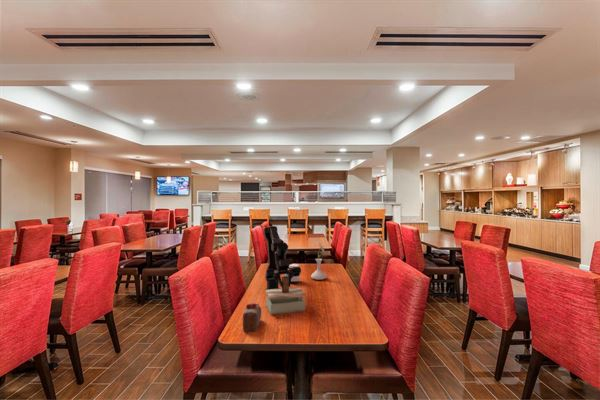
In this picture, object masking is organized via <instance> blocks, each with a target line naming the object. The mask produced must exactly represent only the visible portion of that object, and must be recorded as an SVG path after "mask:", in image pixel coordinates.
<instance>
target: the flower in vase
mask: <svg viewBox="0 0 600 400" xmlns="http://www.w3.org/2000/svg"><path fill="white" fill-rule="evenodd" d="M318 247H319V250H318V251H317V258H315V259H314V260H315V261H316V267H317V268H316V270H315V271H314V272H312V273H311V275H310V278H312V279H314V280H318V281H319V280H326V279H327V278H328V276H327V274H326V273H325V272H324V271H323V270H322V268H321V263H322V261H323V258H320V257H321V256H322V255H321V254H320V250H321V251H322V252H323V253H325V252H326V251H325V248H324V246H323V245H322V243H320V242H319V243H318Z"/></svg>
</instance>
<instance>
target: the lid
mask: <svg viewBox="0 0 600 400" xmlns="http://www.w3.org/2000/svg"><path fill="white" fill-rule="evenodd" d="M281 281H282V285H283V288H282V287H279V289H269V290H266V289H265V293H266V296H267V297H269V299H270V300H274V299H284V298H293V297H302V298H303V297H307V293H306V292H305V291H304V290H303V289H302V288H301V287H300V286H292V287H291V286H290V287H289V277H287V276H284V275H283V276H282V277H281Z"/></svg>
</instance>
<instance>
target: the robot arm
mask: <svg viewBox="0 0 600 400" xmlns="http://www.w3.org/2000/svg"><path fill="white" fill-rule="evenodd" d="M263 236H264V240H265V241H266V242H267V244H266V245H267V255H268V256H267V257H268V265H267V268H266V271H265V275H264V278H265V282H266V288H265V291H266V290H269V289H280V288H283V285H282V277H281V275H284V274H288V277H289V288H290V287H291V284H292V283H291V278H293V276H294V277H295V276H299V275H300V276H301V273H302V269H301V267H300V266H299V267H293V269H292V270H289V266H290V265H292V264H294V262H293V258H292V257H289V258H288V259H287V257H286V256H287V253H288V249H289V245H288V243H287V242H284V240H283V239H281V238H280V235H279V234H278V227H277V226H276V225H269V226H268V227H264V229H263ZM279 286H280V287H279Z"/></svg>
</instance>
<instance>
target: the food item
mask: <svg viewBox="0 0 600 400" xmlns="http://www.w3.org/2000/svg"><path fill="white" fill-rule="evenodd" d="M261 318H262V307H261V306H260V304H258V303H255V302H251V303H246V306H245V308H244V310H243V314H242V329H243V332H257V331H258V327H259V326H260V321H261Z"/></svg>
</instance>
